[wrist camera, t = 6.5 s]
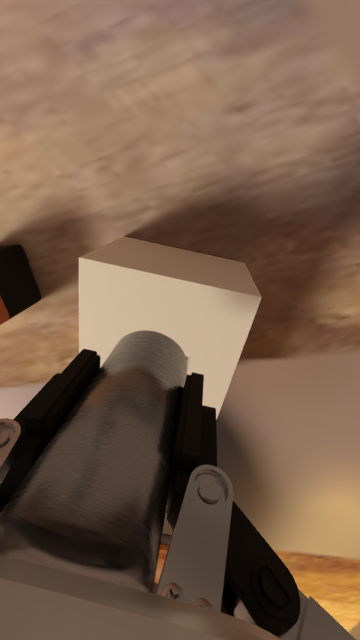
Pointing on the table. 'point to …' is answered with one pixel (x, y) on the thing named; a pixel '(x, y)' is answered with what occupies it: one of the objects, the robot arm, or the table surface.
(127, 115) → the table surface
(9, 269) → the battery
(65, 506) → the peg
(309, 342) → the table surface
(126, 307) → the socket block
